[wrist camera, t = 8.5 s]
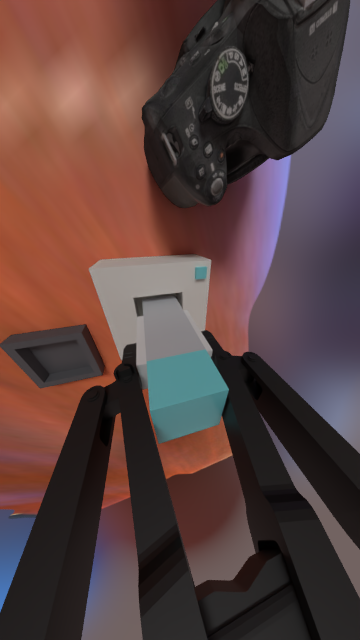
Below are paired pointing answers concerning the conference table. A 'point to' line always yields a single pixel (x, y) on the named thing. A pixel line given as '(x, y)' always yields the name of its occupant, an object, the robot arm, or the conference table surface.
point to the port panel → (149, 289)
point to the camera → (243, 93)
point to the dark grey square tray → (55, 355)
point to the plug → (179, 372)
